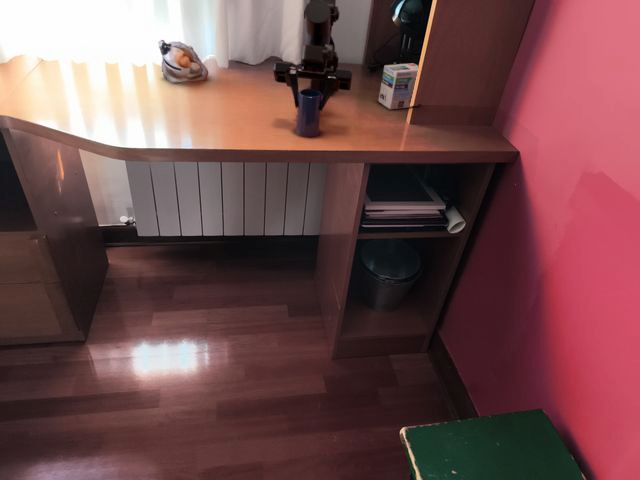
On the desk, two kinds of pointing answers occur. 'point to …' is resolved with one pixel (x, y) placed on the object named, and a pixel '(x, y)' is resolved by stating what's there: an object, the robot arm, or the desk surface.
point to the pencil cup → (308, 112)
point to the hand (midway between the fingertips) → (308, 108)
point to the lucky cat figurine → (181, 62)
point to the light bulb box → (398, 85)
